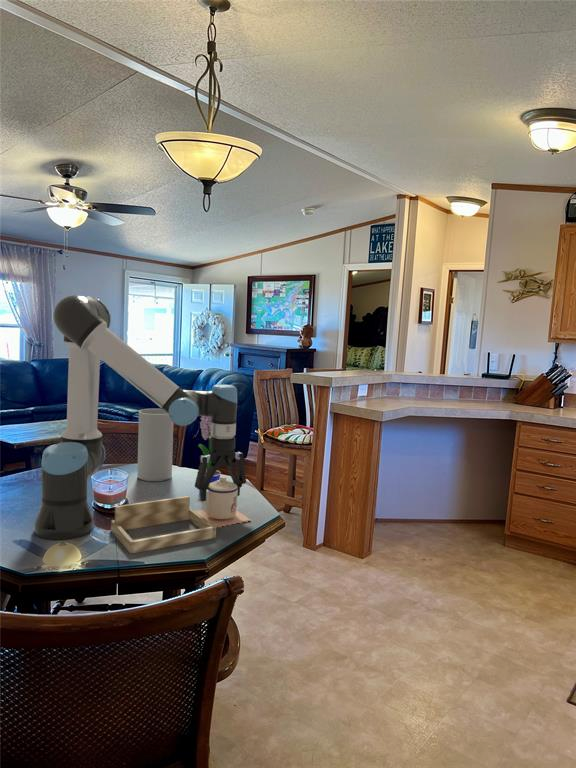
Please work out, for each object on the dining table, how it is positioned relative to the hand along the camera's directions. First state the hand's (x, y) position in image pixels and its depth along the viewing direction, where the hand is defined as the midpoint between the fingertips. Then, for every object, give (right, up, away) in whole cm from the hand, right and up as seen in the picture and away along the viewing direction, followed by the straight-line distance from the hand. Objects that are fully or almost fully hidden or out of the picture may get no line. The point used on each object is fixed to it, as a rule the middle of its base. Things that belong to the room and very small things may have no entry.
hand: (219, 508), depth 171 cm
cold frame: (-14, -4, -15) cm, 21 cm away
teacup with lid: (0, -2, +1) cm, 2 cm away
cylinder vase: (-29, +3, +38) cm, 48 cm away
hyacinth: (-6, 0, +24) cm, 25 cm away
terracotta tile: (0, -3, 0) cm, 3 cm away
